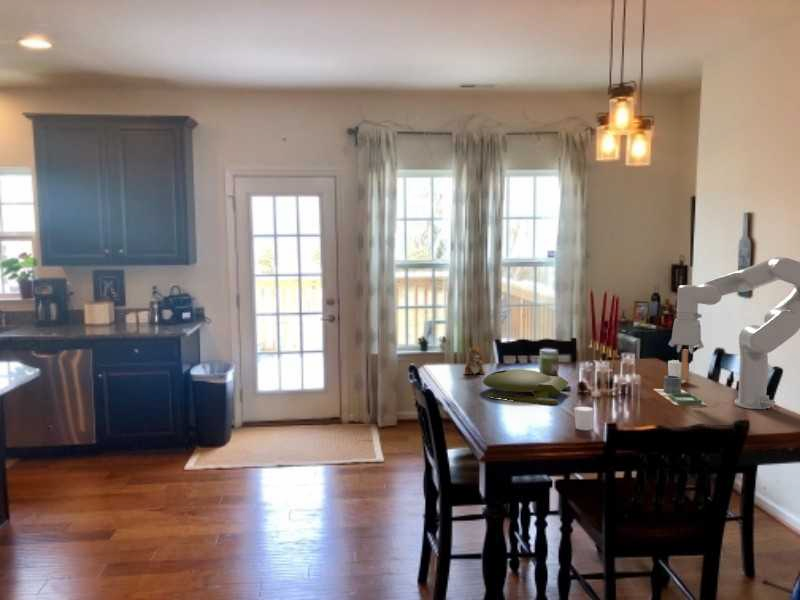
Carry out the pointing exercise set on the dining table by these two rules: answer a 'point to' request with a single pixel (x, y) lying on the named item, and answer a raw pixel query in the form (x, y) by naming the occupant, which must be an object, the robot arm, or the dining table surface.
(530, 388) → the spaceship
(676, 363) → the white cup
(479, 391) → the dining table surface
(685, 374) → the dowel
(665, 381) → the stand
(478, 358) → the stuffed squirrel
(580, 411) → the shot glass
